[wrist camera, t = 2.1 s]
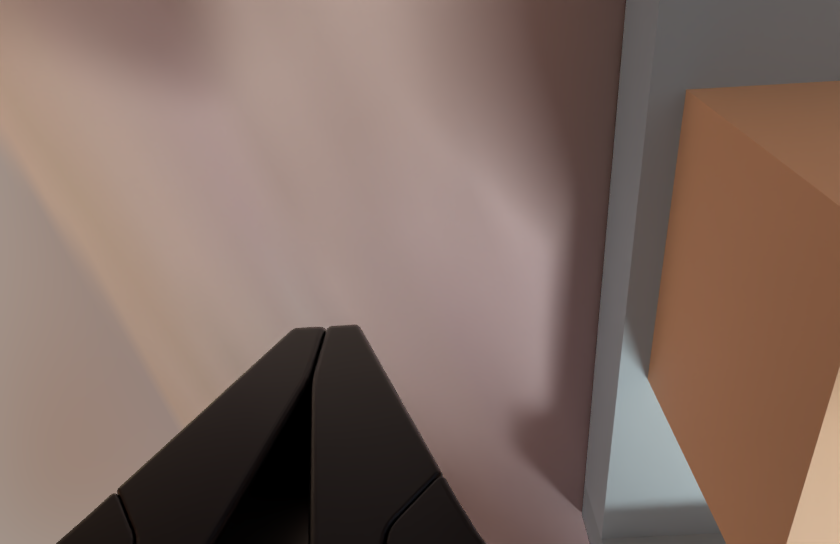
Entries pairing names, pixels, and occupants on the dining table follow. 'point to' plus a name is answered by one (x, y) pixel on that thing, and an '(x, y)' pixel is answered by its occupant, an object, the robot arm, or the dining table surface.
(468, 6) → the dining table surface
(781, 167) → the block
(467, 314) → the dining table surface
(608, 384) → the box
